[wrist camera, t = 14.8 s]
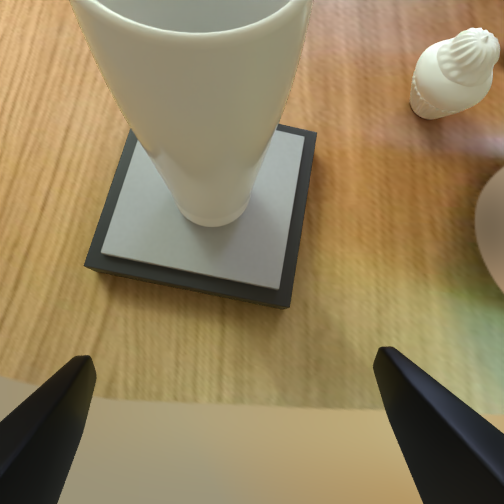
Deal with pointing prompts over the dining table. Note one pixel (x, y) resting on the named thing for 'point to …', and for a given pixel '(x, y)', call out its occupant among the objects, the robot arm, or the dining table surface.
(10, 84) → the dining table surface
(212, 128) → the white cup
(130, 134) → the scale
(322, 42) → the dining table surface
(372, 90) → the dining table surface
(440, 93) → the muffin
